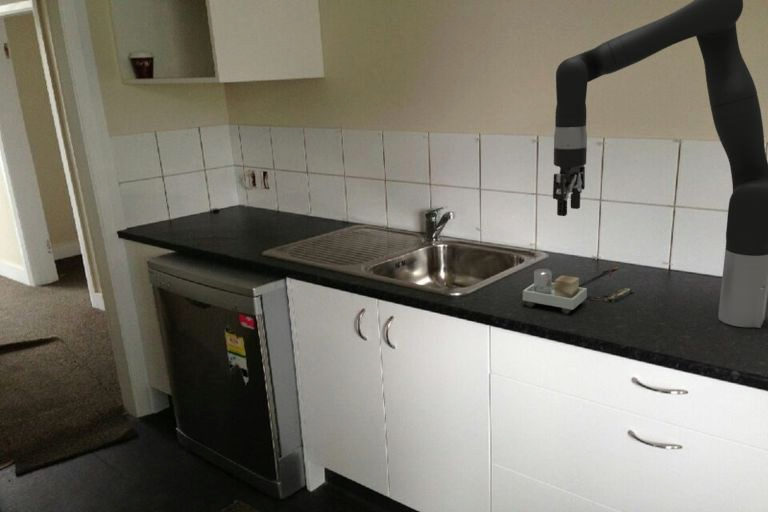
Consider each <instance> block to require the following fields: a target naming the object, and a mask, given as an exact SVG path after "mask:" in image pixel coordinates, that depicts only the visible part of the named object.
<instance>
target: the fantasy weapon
mask: <svg viewBox="0 0 768 512" xmlns="http://www.w3.org/2000/svg"><path fill="white" fill-rule="evenodd" d="M617 268H618V266H616V267H614V268H613V267H612V268H610V269H607V270H602V271H601V272H600V274H599V275H596V276H594V277H592V278H590V279H588V280H586V281H585V282H583V283H581V284H579V287H582V286H584V285H587V284H588V283H590V282H593V281H594V280H596V279H598V278H600V277H602V276H604V275H607V274H609V275H610V274H612V273H613V272H612V271H614V270H616V269H617ZM633 293H634V290H632V289H630V288H628V287H625V288H621V289H620V290H618V291H616V292H614V293H613V294H609V295H606V294H605V295H602V296H590V295H587V298H586V299H588V300H589V301H590V302H591V301H592V302H601V303H603V302H604V303H609V302H611V303H613V302H616V303H617V302H620V300H622V299H624V298H625V297H627V296H629V295H630V294H633Z"/></svg>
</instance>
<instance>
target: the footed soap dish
mask: <svg viewBox="0 0 768 512" xmlns="http://www.w3.org/2000/svg"><path fill="white" fill-rule="evenodd" d="M587 294H588V288H586V287H582V286H580V287H579V293H578V294H576V295H575V296H574V297H573V298H566V297H560V296H555V282H552V294H551V295H549V294H543V293H538V292H534V282H533V283H532V284H531V285H529V286H528V287H526V288H525V289H523V290H522V301H525V304H526V306H527V307H528V308H532V307H534V306H535V305H536V304H539V305H545V306H549V307H550V306H552V307H557V308H561V312H562V314H564V315H568V314H569V313H571V312H572V310H574V309H576V308H577V307H578V306H579V305H580V304H582V303H583V302H584V301H585V300H586V299H588V298H587V296H588V295H587Z"/></svg>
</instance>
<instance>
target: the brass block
mask: <svg viewBox="0 0 768 512" xmlns="http://www.w3.org/2000/svg"><path fill="white" fill-rule="evenodd" d="M554 283H555V296H560V297H566V298H573V297H574V296H575V295H576V294H578V293H579V285H580V278H579V277H576V276H568V275H564V274H563V275H560V276H558V277H557V278H556V279H555V280H554Z"/></svg>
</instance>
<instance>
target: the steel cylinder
mask: <svg viewBox="0 0 768 512" xmlns="http://www.w3.org/2000/svg"><path fill="white" fill-rule="evenodd" d="M552 275H553V274H552V270H551V269H549V268H537V269H535V270H534V271H533V283H534V292H538V293H543V294H549V295H551V294H552V283H553V281H552V279H553V278H552Z"/></svg>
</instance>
